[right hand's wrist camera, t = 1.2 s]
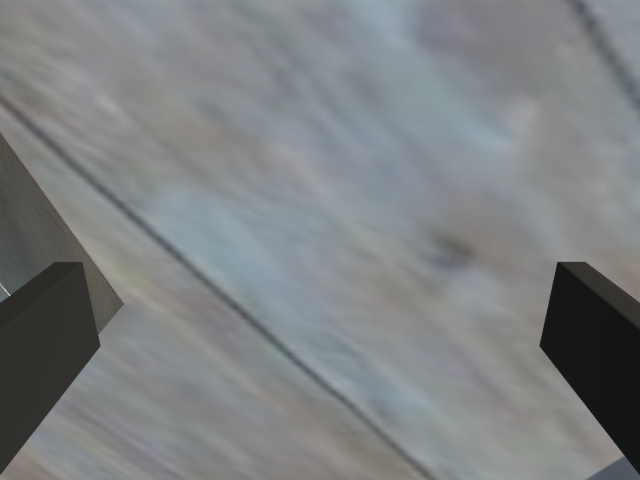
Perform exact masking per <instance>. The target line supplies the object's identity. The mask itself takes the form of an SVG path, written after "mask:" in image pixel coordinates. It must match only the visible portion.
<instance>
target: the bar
mask: <svg viewBox="0 0 640 480" xmlns="http://www.w3.org/2000/svg"><path fill="white" fill-rule="evenodd" d="M54 262H83V267H84V272H85V276H86V281H87V286H88V290H89V295H90V300H91V304H92V309H93V314H94V318H95V323H96V327H97V332H98V335H99V333H100V332H101V331H102V330H103V329H104V327H105V326H106V325H107V324H108V322H109V321H110V320H111V319H112V318H113V316H114V315H115V314H116V313H117V311H118V310H119V309H120V308H121V307H122V305H123V302H122V301H121V300H120V298H119V297H118V295H117V294H116V293H115V291H114V290H113V289H112V287H111V286H110V284H109V283H108V282H107V280H106V279H105V277H104V276H103V275H102V273H101V272H100V271H99V269H98V268H97V266H96V265H95V264H94V262H93V261H92V259H91V258H90V257H89V255H88V254H87V253H86V251H85V250H84V248H83V247H82V246H81V244H80V243H79V241H78V240H77V239H76V237H75V236H74V235H73V233H72V232H71V230H70V229H69V228H68V226H67V225H66V223H65V222H64V221H63V219H62V218H61V217H60V215H59V214H58V212H57V211H56V210H55V208H54V207H53V205H52V204H51V203H50V201H49V200H48V199H47V197H46V196H45V194H44V193H43V192H42V190H41V189H40V187H39V186H38V185H37V183H36V182H35V181H34V179H33V178H32V176H31V175H30V174H29V172H28V171H27V170H26V168H25V167H24V165H23V164H22V163H21V161H20V160H19V158H18V157H17V156H16V154H15V153H14V152H13V150H12V149H11V147H10V146H9V145H8V143H7V142H6V140H5V139H4V138H3V136H2V135H1V134H0V302H2V301H3V300H4V299H6V298H7V297H9V296H10V295H11V294H13V293H14V292H15V291H17V290H18V289H19V288H21V287H22V286H23V285H25V284H26V283H27V282H29V281H30V280H31V279H33V278H34V277H35V276H37V275H38V274H39V273H41V272H42V271H43V270H45V269H46V268H47V267H49V266H50V265H51V264H53V263H54Z"/></svg>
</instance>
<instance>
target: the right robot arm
mask: <svg viewBox="0 0 640 480" xmlns="http://www.w3.org/2000/svg"><path fill="white" fill-rule="evenodd" d="M99 347H100V341H99V337H98V332H97V327H96V323H95V318H94V314H93V309H92V304H91V300H90V295H89V290H88V286H87V281H86V276H85V272H84V267H83V262H54V263H53V264H51V265H50V266H49V267H47V268H46V269H45V270H43V271H42V272H41V273H39V274H38V275H37V276H35V277H34V278H33V279H31V280H30V281H29V282H27V283H26V284H25V285H23V286H22V287H21V288H19V289H18V290H17V291H15V292H14V293H13V294H11V295H10V296H9V297H7V298H6V299H4V300H3V301H2V302H0V475H1V473H2V472H3V471H4V470H5V468H6V467H7V466H8V464H9V463H10V462H11V461H12V459H13V458H14V457H15V455H16V454H17V453H18V452H19V450H20V449H21V448H22V446H23V445H24V444H25V443H26V441H27V440H28V439H29V437H30V436H31V435H32V434H33V432H34V431H35V430H36V428H37V427H38V426H39V425H40V423H41V422H42V421H43V419H44V418H45V417H46V416H47V414H48V413H49V412H50V410H51V409H52V408H53V406H54V405H55V404H56V403H57V401H58V400H59V399H60V397H61V396H62V395H63V394H64V392H65V391H66V390H67V388H68V387H69V386H70V385H71V383H72V382H73V381H74V379H75V378H76V377H77V376H78V374H79V373H80V372H81V370H82V369H83V368H84V367H85V365H86V364H87V363H88V361H89V360H90V359H91V358H92V356H93V355H94V354H95V352H96V351H97V350H98V349H99ZM540 347H541V349H542V350H543V351H544V352H545V354H546V355H547V356H548V358H549V359H550V360H551V361H552V363H553V364H554V365H555V367H556V368H557V369H558V370H559V372H560V373H561V374H562V376H563V377H564V378H565V379H566V381H567V382H568V383H569V385H570V386H571V387H572V388H573V390H574V391H575V392H576V394H577V395H578V396H579V397H580V399H581V400H582V401H583V403H584V404H585V405H586V406H587V408H588V409H589V410H590V412H591V413H592V414H593V416H594V417H595V418H596V419H597V421H598V422H599V423H600V425H601V426H602V427H603V428H604V430H605V431H606V432H607V434H608V435H609V436H610V437H611V439H612V440H613V441H614V443H615V444H616V445H617V446H618V448H619V449H620V450H621V452H622V453H623V454H624V455H625V457H626V458H627V459H628V461H629V462H630V463H631V464H632V466H633V467H634V468H635V470H636V471H637V472H638V473H639V475H640V302H638V301H637V300H636V299H634V298H633V297H631V296H630V295H629V294H627V293H626V292H625V291H623V290H622V289H621V288H619V287H618V286H617V285H615V284H614V283H613V282H611V281H610V280H609V279H607V278H606V277H605V276H603V275H602V274H601V273H599V272H598V271H597V270H595V269H594V268H593V267H591V266H590V265H589V264H587V263H586V262H557V267H556V272H555V276H554V281H553V285H552V290H551V295H550V299H549V304H548V309H547V313H546V318H545V323H544V327H543V332H542V337H541V341H540Z"/></svg>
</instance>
